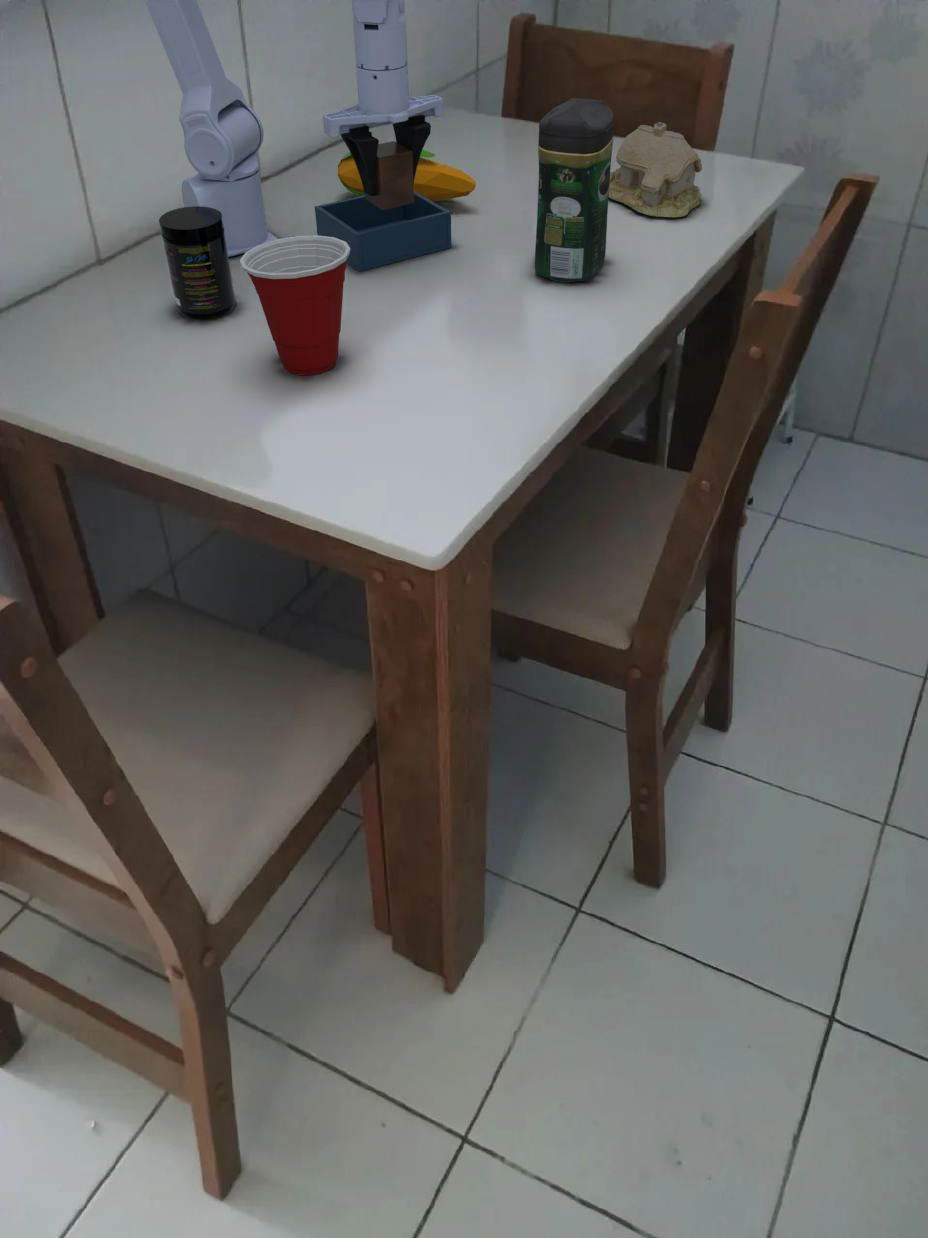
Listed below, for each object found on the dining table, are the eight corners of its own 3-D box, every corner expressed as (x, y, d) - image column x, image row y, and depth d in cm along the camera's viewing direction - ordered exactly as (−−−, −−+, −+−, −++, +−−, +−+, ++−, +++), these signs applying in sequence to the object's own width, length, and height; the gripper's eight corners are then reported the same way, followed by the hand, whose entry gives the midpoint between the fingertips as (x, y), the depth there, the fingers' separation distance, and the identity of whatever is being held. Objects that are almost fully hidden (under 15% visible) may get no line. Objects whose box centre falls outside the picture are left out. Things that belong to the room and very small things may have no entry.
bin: (359, 271, 129) (356, 234, 126) (318, 241, 136) (314, 206, 133) (451, 247, 134) (451, 211, 131) (407, 219, 141) (405, 185, 138)
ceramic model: (717, 201, 145) (729, 124, 138) (670, 224, 139) (679, 144, 132) (634, 177, 152) (641, 103, 146) (585, 199, 146) (590, 121, 140)
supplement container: (246, 312, 121) (231, 220, 114) (189, 327, 118) (171, 234, 111) (223, 291, 125) (208, 201, 118) (168, 304, 122) (149, 214, 115)
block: (382, 210, 125) (379, 157, 121) (364, 199, 128) (360, 147, 124) (414, 203, 127) (412, 150, 123) (396, 192, 129) (393, 140, 125)
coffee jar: (549, 249, 133) (556, 89, 121) (610, 257, 131) (624, 95, 119) (525, 279, 126) (530, 113, 114) (589, 289, 124) (601, 120, 112)
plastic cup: (308, 329, 117) (296, 220, 109) (380, 357, 112) (373, 245, 104) (234, 366, 111) (215, 253, 103) (306, 398, 106) (292, 282, 98)
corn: (347, 128, 146) (485, 142, 141) (353, 184, 151) (486, 199, 146) (325, 149, 141) (467, 164, 136) (332, 205, 146) (469, 222, 141)
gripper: (339, 82, 112) (349, 211, 121) (456, 62, 118) (457, 187, 127) (310, 67, 116) (322, 193, 125) (424, 48, 122) (427, 170, 131)
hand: (388, 189), depth 126 cm, fingers closed on block, 4 cm apart
